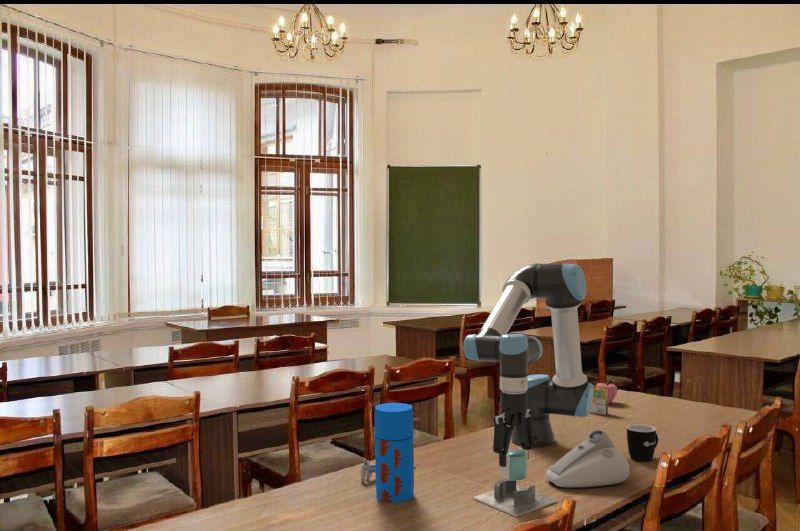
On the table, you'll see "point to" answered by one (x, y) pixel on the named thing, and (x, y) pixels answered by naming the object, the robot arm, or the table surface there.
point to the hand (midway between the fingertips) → (514, 475)
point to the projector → (590, 464)
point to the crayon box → (600, 401)
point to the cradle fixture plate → (514, 498)
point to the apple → (609, 390)
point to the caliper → (369, 468)
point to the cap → (517, 465)
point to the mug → (641, 442)
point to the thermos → (394, 452)
